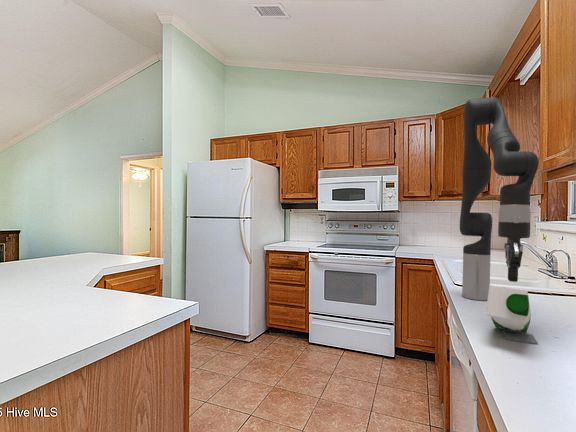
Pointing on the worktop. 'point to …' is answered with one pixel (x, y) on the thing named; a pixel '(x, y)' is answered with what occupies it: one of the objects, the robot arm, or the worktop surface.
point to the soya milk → (509, 308)
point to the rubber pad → (520, 337)
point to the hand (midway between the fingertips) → (512, 281)
